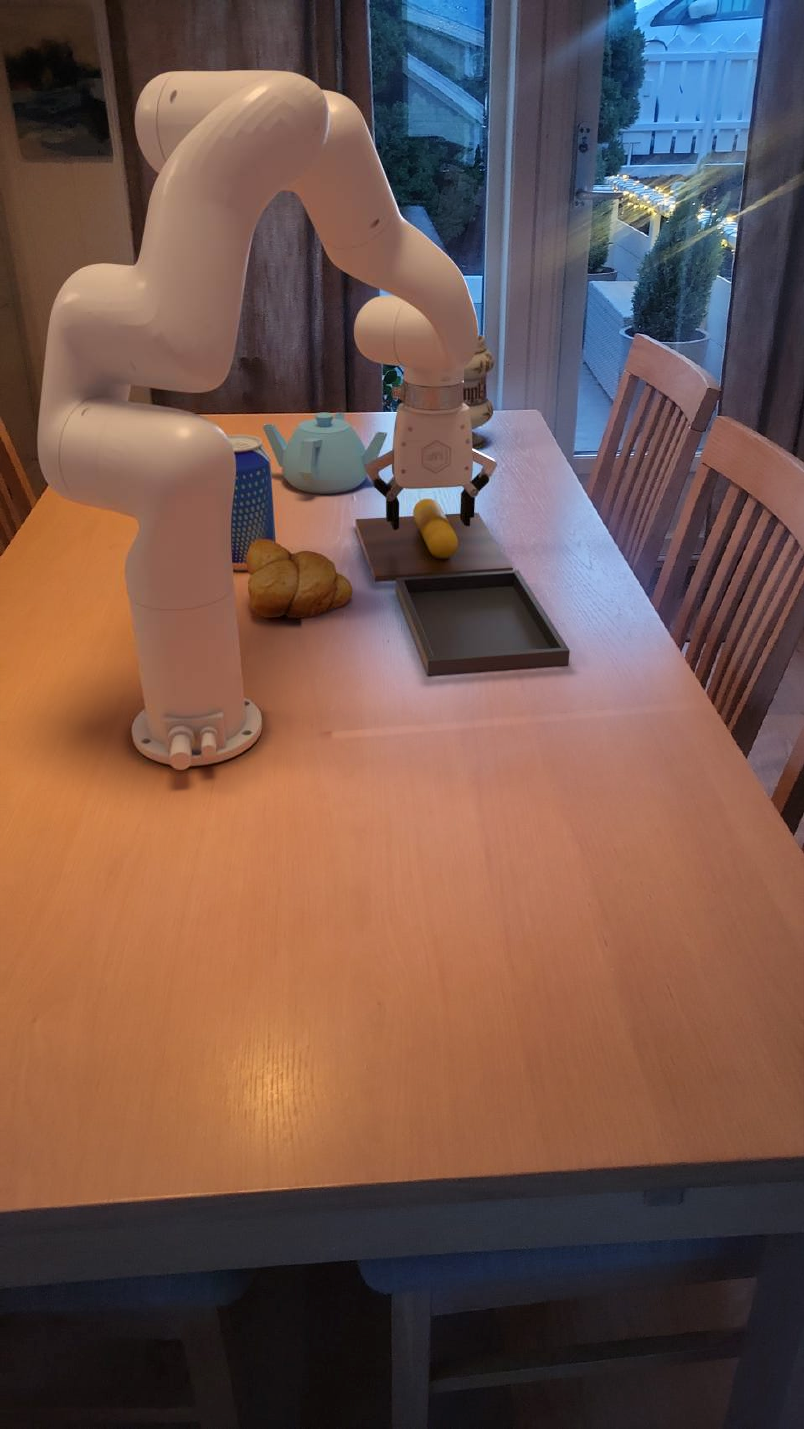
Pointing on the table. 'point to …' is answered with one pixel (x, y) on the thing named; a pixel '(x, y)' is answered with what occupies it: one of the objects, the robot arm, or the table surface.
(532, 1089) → the table surface
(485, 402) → the apothecary jar
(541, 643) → the tray
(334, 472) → the teapot
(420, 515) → the yellow capsule pill
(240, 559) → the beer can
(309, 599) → the bread roll
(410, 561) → the board
